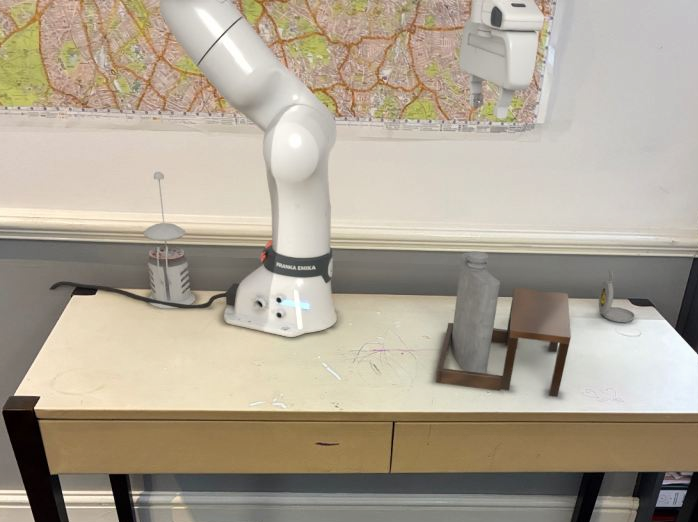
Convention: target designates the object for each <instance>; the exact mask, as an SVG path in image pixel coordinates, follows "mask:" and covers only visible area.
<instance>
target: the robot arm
mask: <svg viewBox="0 0 698 522" xmlns="http://www.w3.org/2000/svg"><path fill="white" fill-rule="evenodd" d="M159 10H160V15H161V17H162V19H163V21H164V22H165V24H166V26H167V28H168V29H169V31H170V32H171V34H172V36H173V37H174V39H175V40H176V41H177V43H178V44H179V46H180V48H182V50H183V51H184V53H185V54H186V55H187V57H188V58H189V59H190V60H191V61H192V63H193V64H194V65H195V66H196V67H197V69H198V70H199V71H200V73H202V75H203V77H205V78H206V79H207V81H209V83H210V84H211V85H212V86H213V87H214V89H215V90H216V91H217V92H218V93H219V94H220V96H221V97H222V98H223V99H224V100H225V101H226V103H227V104H228V105H229V106H230V107H231V108H233V109H234V110H236V111H238V112H239V113H241V115H244V116H245V117H246V118H247V119H248V120H250V121H251V122H252V123H253V124H254V125H256V127H258V128H259V129H261V131H262V132H263V133H264V134H263V139H262V140H263V141H262V156H263V160H264V165H265V174H266V182H267V188H268V193H269V198H270V211H271V239H269V240H268V242H266V244H265V247H264V249H263V250H262V253H261V255H260V262H262V263H263V264H261V265H260V266H259V267H257V268H256V269H255V270H253V271H252V272H250V273H249V274H248V275H246V276H245V277H244V278H243V279H242V280H241V281H240V283H235V282H234V283H233V284H231V286H230V287H229V288H228V289H227V291H225V292H222V293H218V294H214V295H212V296H211V297H210V298H209V300H208V301H207V302H205V303H200V304H190V305H186V304H179V303H170V302H163V301H158V300H154V299H150V298H149V297H146V296H142V295H140V294H139V295H138V294H135V293H133V292H129V291H127V290H124V289H120V288H115V287H111V286H110V287H109V286H104V285H96V284H86V283H85V284H84V283H77V282H73V281H64V280H63V281H58V282H55V283H54V284H52V285H51V286H50V287H49V290H50V291H54V290H56V289H57V288H59V287H61V286H68V287H74V288H80V289H87V290H88V289H90V290H98V291H99V290H102V291H107V292H112V293H116V294H121V295H124V296H128V297H130V298H134V299H136V300H139V301H143V302H147V303H149V302H151V303H156V304H162V305H167V306H172V307H180V308H179V309H204V308H207V307H210V306H211V305H212V304H213V303H214V301H215V300H218V299H221V298H225V302H226V303H225V305H226V307H225V309H224V312H223V320H224V322H225V324H228V325H232V326H236V327H241V328H247V329H251V330H255V331H260V332H265V333H268V334H273V335H278V336H283V337H287V338H296V337H298V336H301V335H304V334H309V333H315V332H320V331H323V330H326V329H329V328H331V327H333V326H334V325H335V324H336V323H337V320H338V317H337V316H338V315H337V313H336V309H335V304H334V299H333V298H334V297H333V291H332V278H333V272H334V271H333V270H334V257H333V248H332V247H331V234H332V233H331V231H332V230H331V229H332V228H331V227H332V226H331V225H332V221H331V220H332V205H331V197H330V184H329V183H330V182H329V158H330V154H331V152H332V151H333V148H334V146H335V144H336V140H337V125H336V121H335V118H334V116H333V114H332V113H333V112H331V110H330V108H328V106H327V105H326V104H325V103H323V102H322V101H321V100H320V99H319V98H318V96H316V95H315V94H314V93H313V92H312V91H311V90H310V89H309V87H308V86H306V85H305V83H304V82H303V81H302V80H300V78H298V77H297V75H296V74H294V73H293V72H292V71H291V70H290V69H289V68H288V67H287V66H286V65H285V64H284V63H283V62H282V61H281V60H280V59H279V58H278V57H277V55H276V54H275V53H274V52H273V50H272V49H270V47H269V46H268V44H267V43H266V42H265V40H263V38H262V37H261V36H260V35H259V34H258V33H257V31H256V30H255V29H254V28H253V26H252V25H251V24H250V23H249V22H248V20H247V19H246V17H244V15H243V14H242V13H241V11H240V10H239V9H238V8H237V7H236V5H235V4H234V3H233V2H232V0H159ZM544 21H545V15H544V13H543V12H542V11H541V9H540V8H539V7H538V5H537V3H536V1H535V0H471V8H470V15H469V18H468V19H467V20H466V22H465V23H464V26H463V31H462V37H461V43H460V49H459V55H458V63H459V64H458V65H459V69H460V70H461V71H462V72H465V73H468V86H469V92H470V95H469V105H470V106H472V107H475V108H477V107H478V108H480V107H482V106H483V104H484V97H485V95H484V93H483V82H484V81H487V82H489V83H491V84H494V85H496V86H498V94H499V96H498V99H497V102H496V104H494V105H493V112H492V115H493V117H494V118H495V119H499V120H503V119H504V120H505V119H507V117H508V114H509V113H508V112H509V106H510V104H511V103H512V101H513V98H514V97H515V93H516V91H525V90H528V88H529V86H530V84H531V83H532V80H533V77H534V71H535V67H536V61H537V54H538V48H539V36H538V33H537V32H541V31H542V30H543V27H544V23H545V22H544Z"/></svg>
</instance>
